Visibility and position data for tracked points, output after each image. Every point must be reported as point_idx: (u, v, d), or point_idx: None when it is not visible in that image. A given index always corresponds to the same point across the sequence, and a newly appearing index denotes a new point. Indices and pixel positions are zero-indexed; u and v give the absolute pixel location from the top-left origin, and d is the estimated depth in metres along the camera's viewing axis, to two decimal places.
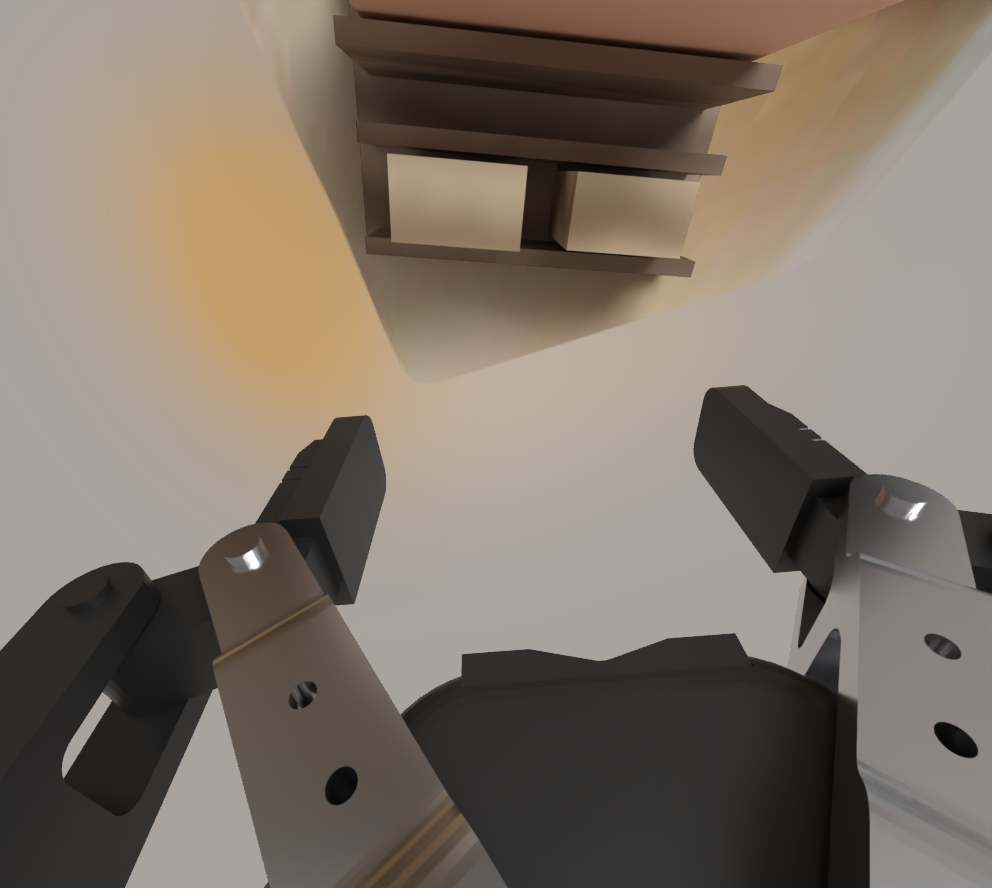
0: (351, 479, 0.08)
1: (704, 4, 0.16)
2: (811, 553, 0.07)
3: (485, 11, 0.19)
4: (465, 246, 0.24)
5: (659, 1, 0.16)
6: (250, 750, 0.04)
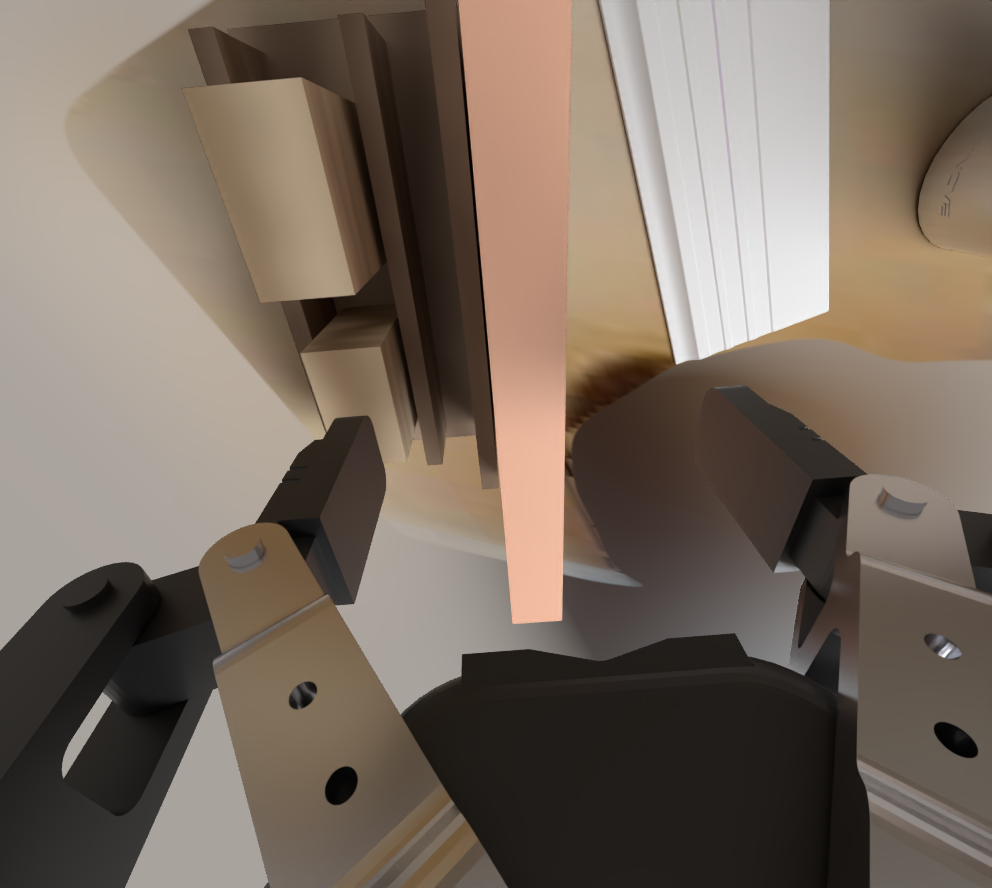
0: (350, 478, 0.08)
1: None
2: (811, 552, 0.07)
3: None
4: (232, 223, 0.16)
5: None
6: (250, 750, 0.04)
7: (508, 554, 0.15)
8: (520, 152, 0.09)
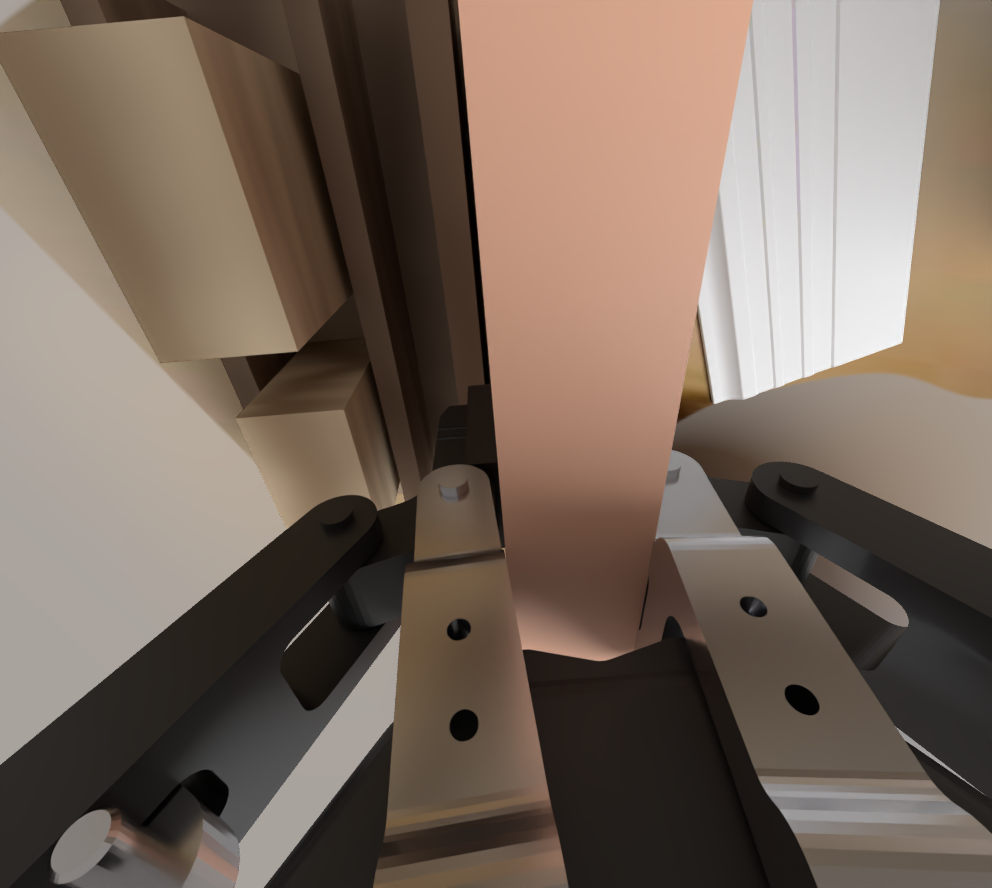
0: None
1: None
2: None
3: None
4: (102, 250, 0.11)
5: None
6: (409, 651, 0.04)
7: None
8: (601, 125, 0.03)
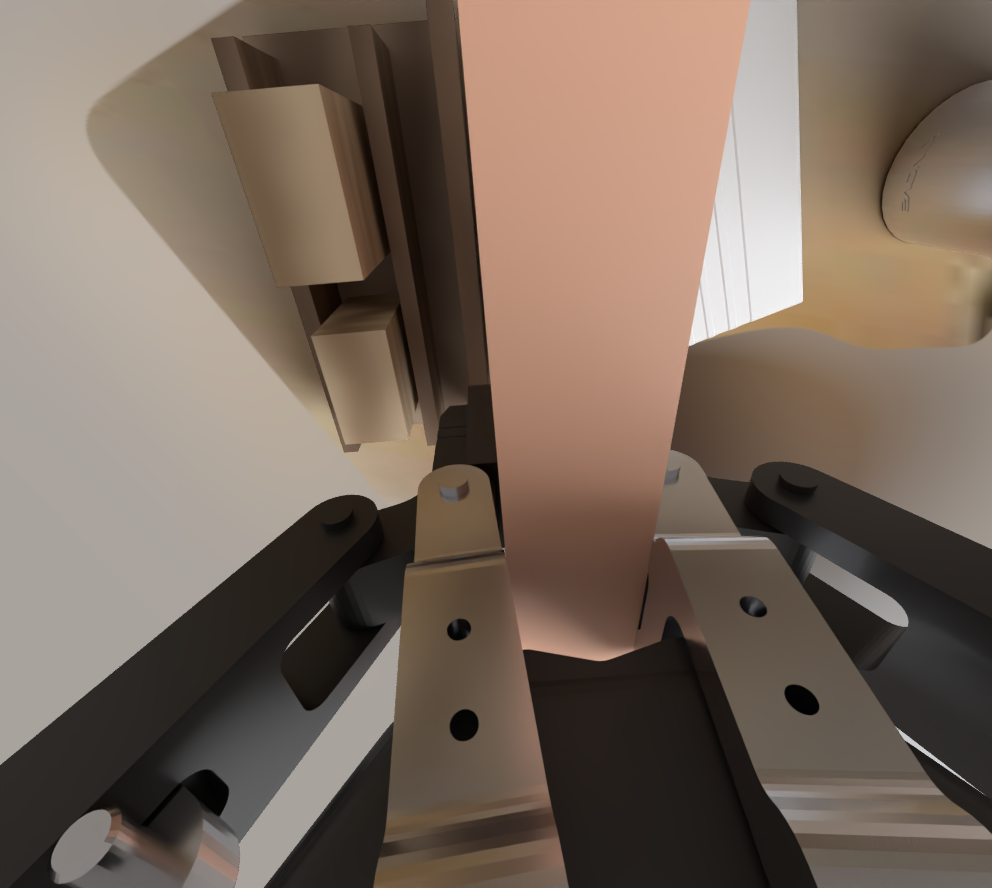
0: None
1: None
2: None
3: None
4: (253, 214, 0.18)
5: None
6: (409, 651, 0.04)
7: None
8: (599, 125, 0.03)
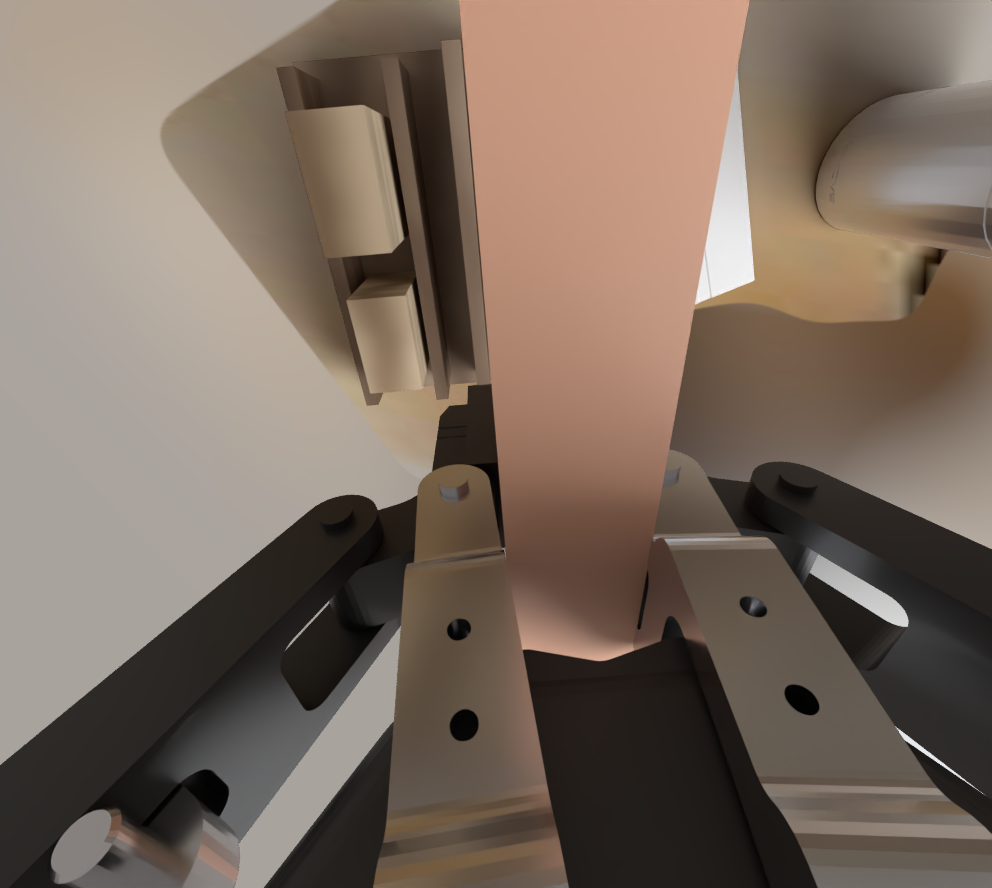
0: None
1: None
2: None
3: None
4: (310, 201, 0.24)
5: None
6: (409, 651, 0.04)
7: None
8: (599, 128, 0.03)
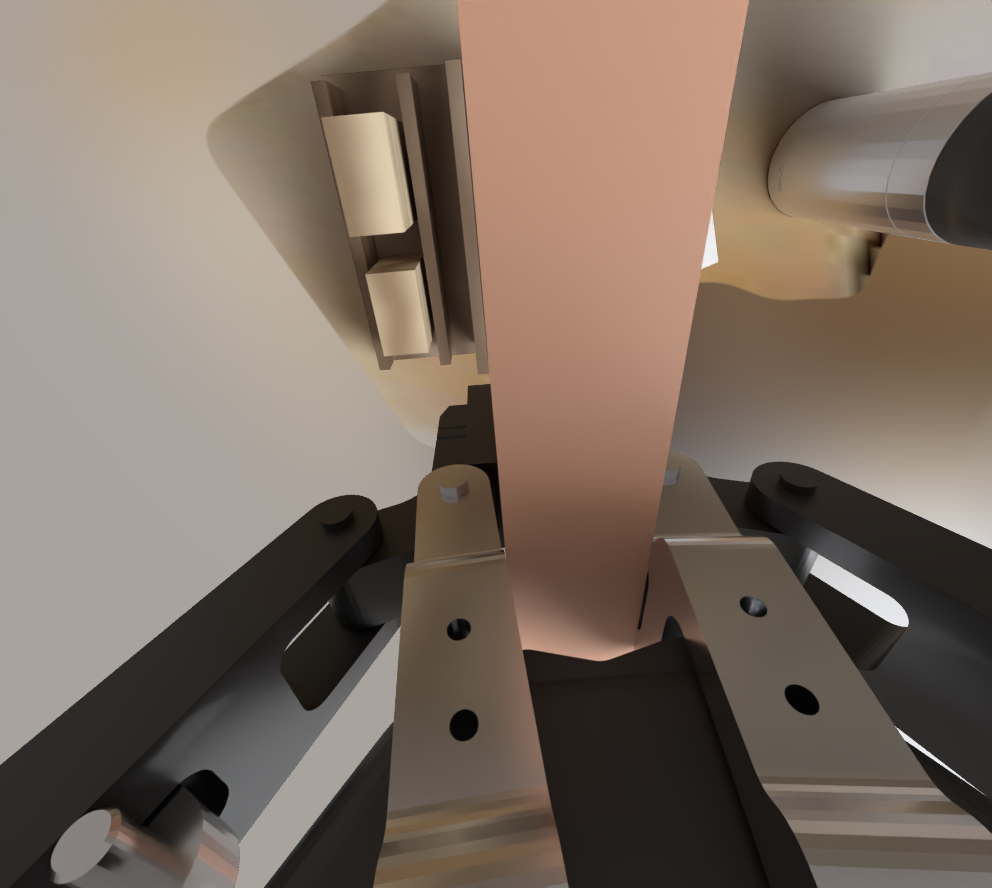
0: None
1: None
2: None
3: None
4: (339, 189, 0.30)
5: None
6: (409, 652, 0.04)
7: None
8: (597, 122, 0.03)
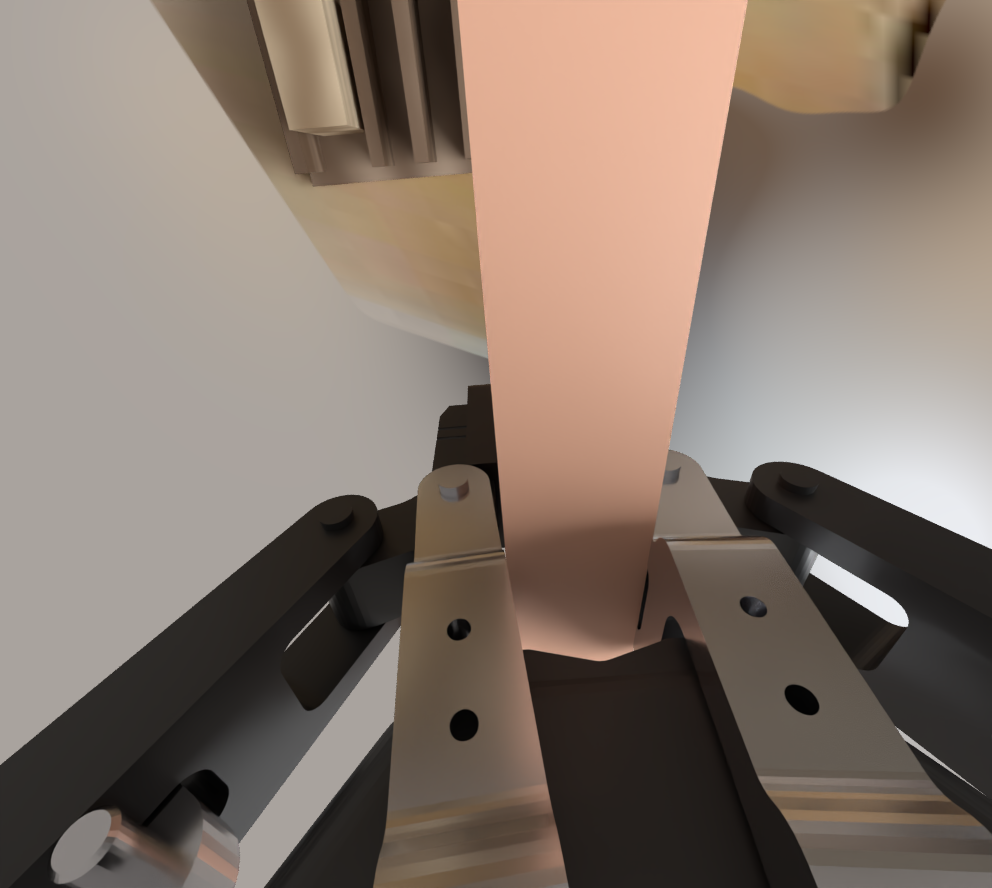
0: None
1: None
2: None
3: None
4: None
5: None
6: (409, 651, 0.04)
7: None
8: (598, 127, 0.03)
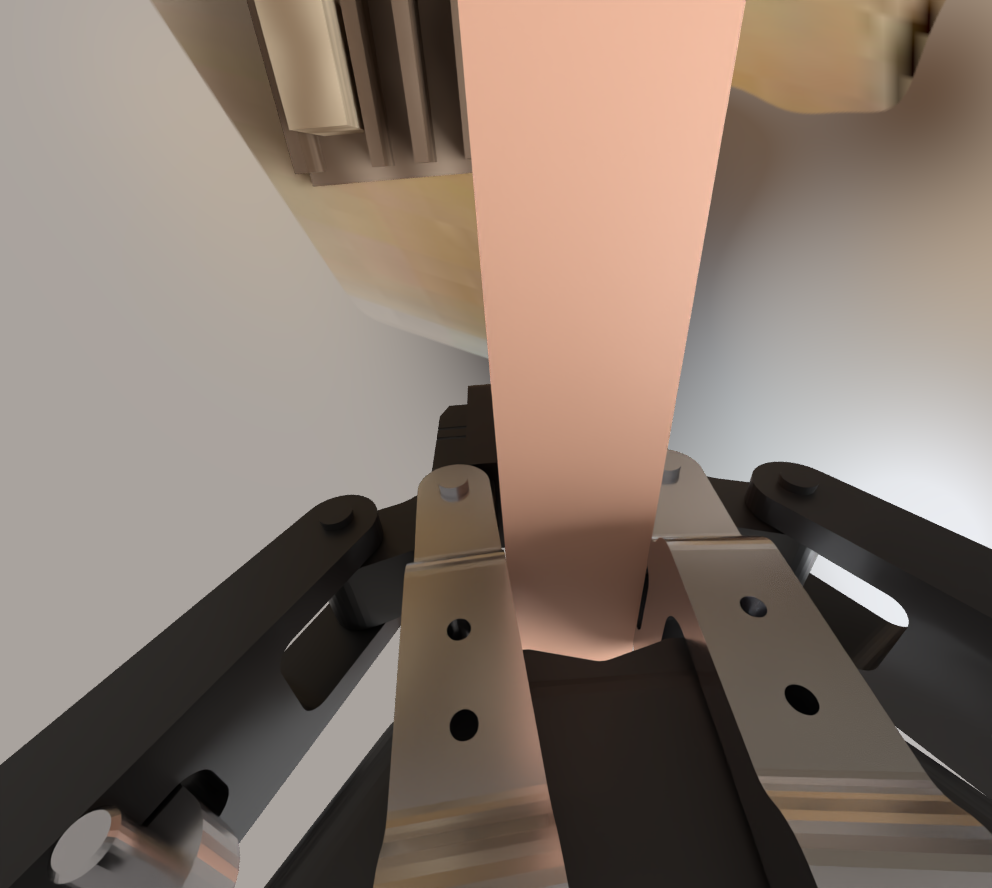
0: None
1: None
2: None
3: None
4: None
5: None
6: (409, 651, 0.04)
7: None
8: (596, 128, 0.03)
